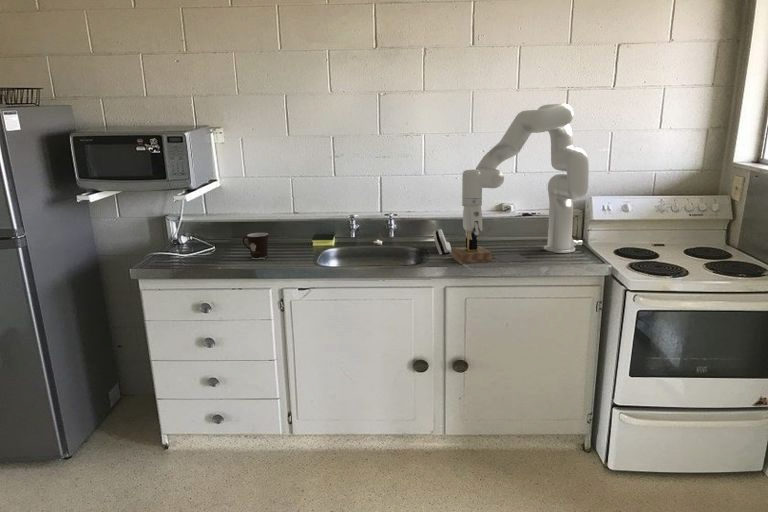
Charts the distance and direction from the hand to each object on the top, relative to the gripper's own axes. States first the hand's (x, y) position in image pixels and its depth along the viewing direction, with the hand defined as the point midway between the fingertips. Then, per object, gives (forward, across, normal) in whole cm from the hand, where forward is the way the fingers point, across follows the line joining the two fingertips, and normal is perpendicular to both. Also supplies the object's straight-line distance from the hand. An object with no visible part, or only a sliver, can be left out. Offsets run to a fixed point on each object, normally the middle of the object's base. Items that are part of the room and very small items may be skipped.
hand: (471, 248), depth 223 cm
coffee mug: (+5, +31, +83) cm, 89 cm away
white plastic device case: (+5, +21, +6) cm, 22 cm away
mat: (+5, -3, -15) cm, 16 cm away
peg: (+3, 0, 0) cm, 3 cm away
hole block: (+5, 0, 0) cm, 5 cm away
